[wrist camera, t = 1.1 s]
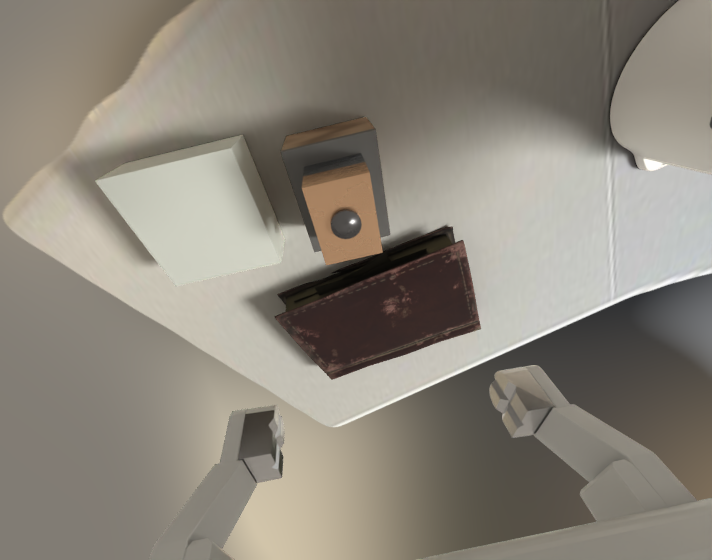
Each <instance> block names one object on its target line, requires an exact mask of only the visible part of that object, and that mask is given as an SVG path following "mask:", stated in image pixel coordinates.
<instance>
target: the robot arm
mask: <svg viewBox="0 0 712 560" xmlns="http://www.w3.org/2000/svg"><path fill="white" fill-rule="evenodd" d="M610 124H611V129H612V133H613V135H614V137H615V139H616V140H617V142H618V143H619V144H620V145H621V146H623V147H624V148H626V149H628V150H629V151H631V152H632V153H633V154H634V157H635V161H636V164H637V166H638V168H639V169H641V170H646V171H654V170H657V169H659V168H662V167H664V166H667V165H673V166H677V167H681V168H685V169H689V170H694V171H698V172H702V173H707V174H711V175H712V0H679V1H678V2H676V3H675V4H674V5H673V6H672V7H671V8H670V9H669V10H668V11H667V12H666V13H665V14H664V15H663V16H662V17H661V18H660V19H659V20H658V21H657V22H656V23H655V24H654V25H653V27H652V28H651V29H650V30H649V31H648V32H647V34H646V35H645V36H644V38H643V39H642V40H641V42H640V43H639V45H638V46H637V47H636V49H635V50H634V52H633V54H632V55H631V57H630V58H629V60H628V62H627V64H626V66H625V68H624V70H623V72H622V74H621V76H620V78H619V80H618V83H617V86H616V88H615V91H614V95H613V99H612V103H611V110H610ZM494 377H495V379H496V380H495V381H494V382H493V383H492V384H491V386H490V397H491V400H492V402H493V404H494V406H495V408H496V409H497V410H499V411H500V412H501V413H503V418H502V421H503V422H504V424H505V426H506V427H507V429H508V431H509V433H510V434H511V436H512V438H514V437H521V436H528V435H535V437H536V438H537V439H539V440H540V441H541V442H542V443H543V444H545V445H546V446H547V447H548V448H549V449H550V450H552V451H553V452H554V453H555V454H556V455H558V456H559V457H560V458H561V459H562V460H564V461H565V462H566V463H567V464H568V465H570V466H571V467H572V468H573V469H574V470H575V471H577V472H578V473H579V474H580V475H581V476H583V477H584V478H585V479H586V480H587V481H588V482H590V483H588V485H586V486H585V487H584V488H583V489H582V490H581V493H580V496H581V497H582V499H583V501H584V502H585V504H586V505H587V507H588V508H589V510H590V512H591V513H592V515H593V516H594V518H595V519H596V521H597V522H595V523H590V524H586V525H581V526H575V527H571V528H566V529H561V530H556V531H551V532H547V533H542V534H537V535H532V536H528V537H523V538H518V539H513V540H509V541H503V542H499V543H494V544H489V545H485V546H479V547H475V548H470V549H465V550H460V551H456V552H451V553H446V554H441V555H436V556H432V557H427V558H422V559H418V560H712V498H710V499H705V500H700V501H697V500H696V499H695V498H694V497H693V496H692V494H691V493H690V492H689V491H688V490H687V489H686V488H685V487H684V486H683V485H682V483H681V482H680V481H679V480H678V479H677V478H676V477H675V476H674V475H673V473H672V472H671V471H670V470H669V469H668V468H667V467H666V466H665V465H664V463H663V462H662V461H661V460H660V459H659V458H658V457H657V456H656V455H655V453H653V452H652V451H650V450H648V449H647V448H645V447H644V446H642V445H640V444H638V443H637V442H635V441H634V440H632V439H630V438H629V437H627V436H625V435H624V434H622V433H620V432H619V431H617V430H615V429H614V428H612V427H611V426H609V425H607V424H606V423H604V422H602V421H601V420H599V419H597V418H595V417H594V416H592V415H591V414H589V413H587V412H586V411H584V410H582V409H581V408H579V407H577V406H576V405H570V404H569V403H568V402H567V400H566V399H565V398H564V396H563V395H562V394H561V393H560V391H559V390H558V389H557V387H556V386H555V385H554V384H553V382H552V381H551V380H550V379H549V377H548V376H547V375H546V374H545V372H544V371H543V370H542V369H541V368H540V367H539V366H536V365H532V366H526V367H519V368H513V369H507V370H502V371H498V372H496V373H495V376H494ZM283 444H284V424H283V419H282V416H280V415H279V408H278V405H271V406H264V407H258V408H251V409H244V410H237V411H232V413H231V415H230V417H229V422H228V426H227V431H226V436H225V440H224V445H223V450H222V455H221V459H220V463H219V464H215V465H214V466H213V468H212V469H211V470H210V472H209V473H208V474H207V476H206V477H205V478H204V480H203V481H202V482H201V484H200V485H199V486H198V488H197V489H196V490H195V492H194V493H193V494H192V496H191V497H190V498H189V500H188V501H187V502H186V504H185V505H184V506H183V507H182V509H181V510H180V511H179V513H178V514H177V515H176V517H175V518H174V520H173V521H172V522H171V523H170V525H169V526H168V528H167V529H166V530H165V531H164V533H163V534H162V535H161V537H160V538H159V540H158V541H157V542H156V543H155V545H154V546H153V549H152V552H151V555H150V558H149V560H234V558H232V557H231V556H230V555H229V554H227V553H226V552H225V551H224V550H222V548H223V546H224V544H225V542H226V541H227V539H228V537H229V535H230V533H231V531H232V530H233V528H234V526H235V524H236V522H237V521H238V519H239V517H240V515H241V513H242V511H243V510H244V508H245V506H246V504H247V502H248V500H249V499H250V497H251V495H252V493H253V491H254V489H255V488H256V486H257V484H256V483H259V482H264V481H269V480H274V479H279V478H282V471H283V455H282V452H281V450H280V448H281V447H282V445H283Z"/></svg>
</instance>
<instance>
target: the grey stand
mask: <svg viewBox="0 0 712 560" xmlns="http://www.w3.org/2000/svg"><path fill="white" fill-rule="evenodd" d="M95 182H96V183H97V184H98V186H99V187H100V188H101V190H102V191H103V192H104V194H105V195H106V196H107V198H108V199H109V200H110V201H111V203H112V204H113V205H114V207H115V208H116V209H117V211H118V212H119V213H120V215H121V216H122V217H123V218H124V220H125V221H126V222H127V224H128V225H129V226H130V228H131V229H132V230H133V231H134V233H135V234H136V235H137V237H138V238H139V239H140V241H141V242H142V243H143V245H144V246H145V247H146V248H147V250H148V251H149V252H150V254H151V255H152V256H153V258H154V259H155V260H156V262H157V263H158V264H159V265H160V267H161V268H162V269H163V271H164V272H165V273H166V275H167V276H168V277H169V278H170V280H171V281H172V282H173V284H174V285H175V286H176V287H177V286H181V285H186V284H190V283H194V282H199V281H203V280H208V279H212V278H217V277H221V276H225V275H230V274H234V273H239V272H243V271H248V270H252V269H256V268H261V267H265V266H270V265H274V264H279V263H281V262H282V255H283V249H284V243H285V238H284V236H283V233H282V231H281V228H280V226H279V223H278V221H277V218H276V216H275V214H274V211H273V209H272V206H271V204H270V201H269V199H268V196H267V194H266V191H265V189H264V186H263V184H262V181H261V179H260V176H259V174H258V171H257V169H256V166H255V164H254V161H253V159H252V156H251V154H250V151H249V149H248V146H247V144H246V141H245V139H244V136H243V135H239V136H235V137H231V138H226V139H222V140H218V141H214V142H210V143H206V144H202V145H197V146H193V147H189V148H185V149H181V150H177V151H173V152H169V153H164V154H160V155H156V156H152V157H148V158H144V159H140V160H136V161H131V162H127V163H124V164H122V165H121V166H119V167H117V168H116V169H114V170H112V171H111V172H109V173H107V174H106V175H104V176H102V177H100V178H99V179H97V180H95Z"/></svg>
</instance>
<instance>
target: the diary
mask: <svg viewBox="0 0 712 560" xmlns="http://www.w3.org/2000/svg"><path fill="white" fill-rule="evenodd" d="M337 272H339V273H337ZM332 273H337V274H334V275H332V276H329V277H327V278H324V279H321V280H318V281H314V282H310V283H306V284H303V285H300V286H298V287H295V288H293V289H290V290H287V291H285V292H282V293H280V294H277V295H278V296H279V297H280V298H281V300H282V301H283V302H284V303H285V304H286V312H284V313H282V314H279V315H277V316H275V318H276V320H277V321H278V322H279V323H280V324H281V325H282V326H283V328H284V329H285V330H286V331H287V332H288V333H289V334H290V335H291V337H292V338H293V339H294V340H295V341H296V342H297V343H298V345H299V346H300V347H301V348H302V349H303V350H304V351H305V352H306V353H307V355H308V356H309V357H310V358H311V359H312V360H313V361H314V362H315V363H316V364H317V365H318V366H319V367H320V368H321V369H322V370H323V371H324V372H325V373H326V374H327V375H328V376H329V377H330V378H331V380H332V379H335V378H338V377H341V376H343V375H346V374H349V373H351V372H354V371H357V370H359V369H362V368H365V367H367V366H370V365H374V364H377V363H380V362H383V361H386V360H390V359H393V358H396V357H399V356H403V355H406V354H408V353H411V352H414V351H416V350H419V349H422V348H424V347H427V346H430V345H432V344H435V343H438V342H440V341H444V340H447V339H450V338H454V337H457V336H460V335H463V334H467V333H470V332H473V331H476V330H479V329H481V326H480V321H479V316H478V311H477V305H476V299H475V293H474V288H473V283H472V278H471V273H470V268H469V263H468V259H467V254H466V249H465V245H464V242H463V240H461V241H458V242H456V243H455V239H454V234H453V227H446V228H442V229H440V230H437V231H434V232H432V233H429V234H426V235H424V236H421V237H419V238H416V239H413V240H411V241H408V242H406V243H403V244H401V245H398V246H396V247H394V248H391V249H389V250H387V251H384V252H383V253H380V254H377V255H375V256H373V257H370V258H368V259H366V260H364V261H361V262H358V263H355V264H352V265H349V266H347V267H344V268H341V269H339V270H337V271H335V272H332Z"/></svg>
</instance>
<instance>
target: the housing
mask: <svg viewBox="0 0 712 560" xmlns="http://www.w3.org/2000/svg"><path fill="white" fill-rule="evenodd" d="M302 191H303V194H304V197H305V200H306V203H307V206H308V209H309V213H310V216H311V219H312V222H313V225H314V228H315V231H316V234H317V238H318V241H319V244H320V247H321V250H322V253H323V256H324V259H325V263H326V265H330V264H334V263H339V262H343V261H348V260H352V259H357V258H361V257H365V256H370V255H374V254H379V253H383V251H382V245H381V238H380V232H379V226H378V220H377V214H376V208H375V202H374V195H373V189H372V183H371V177H370V172H369V170H368V167H367V165H366V163H365V161H364V158H363V156H362V154H361V153H359V154H355V155H351V156H347V157H342V158H338V159H334V160H330V161H325V162H321V163H317V164H313V165H309V166H304V170H303V180H302Z"/></svg>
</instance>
